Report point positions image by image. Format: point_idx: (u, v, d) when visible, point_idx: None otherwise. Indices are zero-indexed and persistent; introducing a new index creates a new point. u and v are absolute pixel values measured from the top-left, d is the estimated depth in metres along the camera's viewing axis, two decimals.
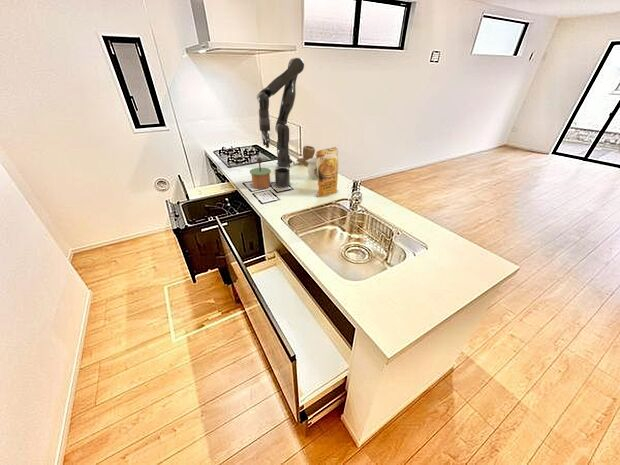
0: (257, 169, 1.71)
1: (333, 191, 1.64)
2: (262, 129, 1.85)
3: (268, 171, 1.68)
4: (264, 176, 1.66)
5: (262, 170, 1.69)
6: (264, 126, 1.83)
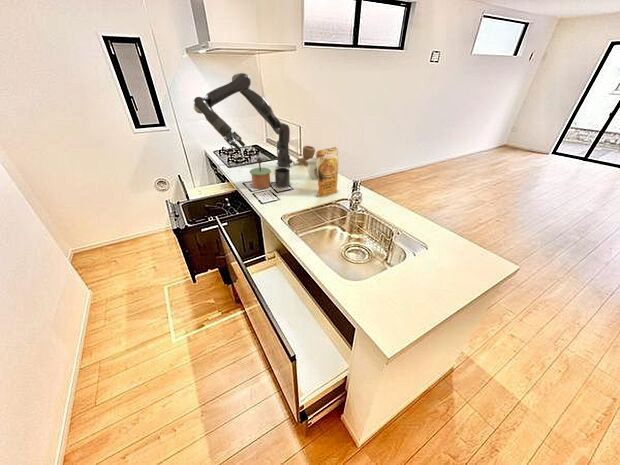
0: (257, 169, 1.71)
1: (333, 191, 1.64)
2: (222, 135, 1.57)
3: (268, 171, 1.68)
4: (264, 176, 1.66)
5: (262, 170, 1.69)
6: (220, 131, 1.55)
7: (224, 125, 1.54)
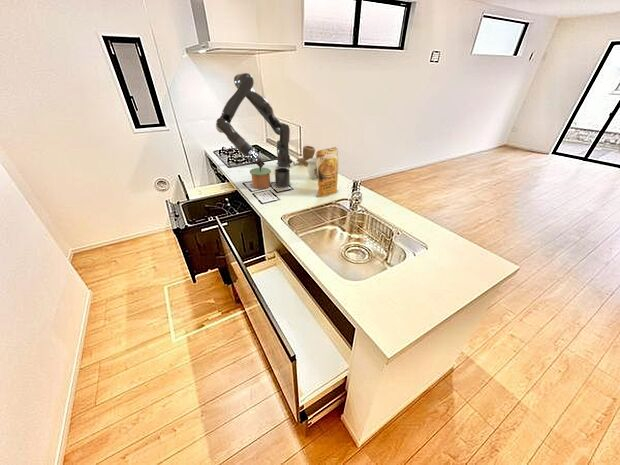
0: (257, 169, 1.71)
1: (333, 191, 1.64)
2: (242, 153, 1.61)
3: (268, 171, 1.68)
4: (264, 176, 1.66)
5: (262, 170, 1.69)
6: (241, 150, 1.59)
7: (245, 144, 1.58)
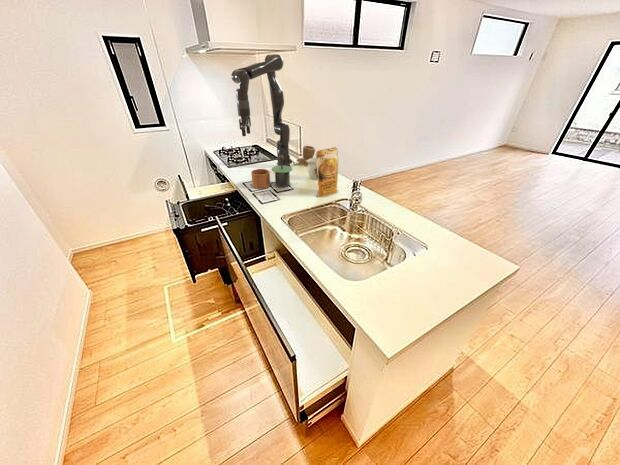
0: (278, 167, 1.72)
1: (333, 191, 1.64)
2: (238, 114, 1.59)
3: (290, 169, 1.69)
4: (264, 176, 1.66)
5: (284, 168, 1.71)
6: (240, 110, 1.57)
7: (247, 109, 1.58)
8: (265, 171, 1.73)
